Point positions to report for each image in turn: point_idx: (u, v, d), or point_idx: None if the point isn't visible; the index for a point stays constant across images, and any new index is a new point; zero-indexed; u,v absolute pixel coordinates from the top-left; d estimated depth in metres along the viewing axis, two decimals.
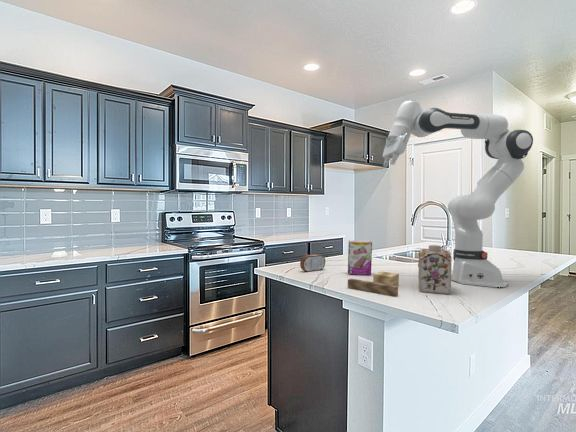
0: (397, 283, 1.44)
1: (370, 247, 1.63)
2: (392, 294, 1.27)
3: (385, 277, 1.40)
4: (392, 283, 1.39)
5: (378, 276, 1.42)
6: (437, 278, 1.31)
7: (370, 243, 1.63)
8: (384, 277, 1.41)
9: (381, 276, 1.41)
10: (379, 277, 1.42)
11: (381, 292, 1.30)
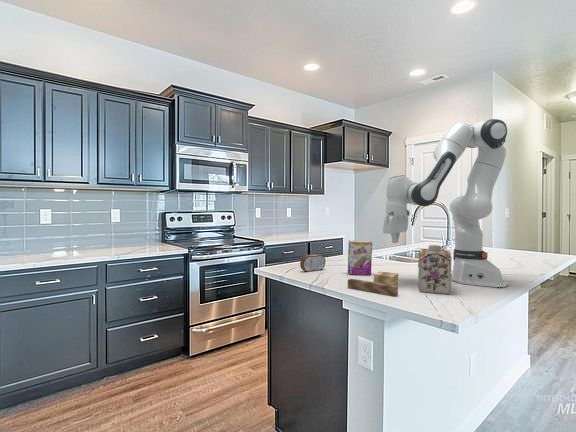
0: (397, 283, 1.44)
1: (370, 247, 1.63)
2: (392, 294, 1.27)
3: (386, 277, 1.40)
4: (393, 283, 1.39)
5: (379, 276, 1.42)
6: (437, 278, 1.31)
7: (370, 243, 1.63)
8: (385, 277, 1.40)
9: (382, 276, 1.41)
10: (380, 277, 1.42)
11: (381, 292, 1.30)
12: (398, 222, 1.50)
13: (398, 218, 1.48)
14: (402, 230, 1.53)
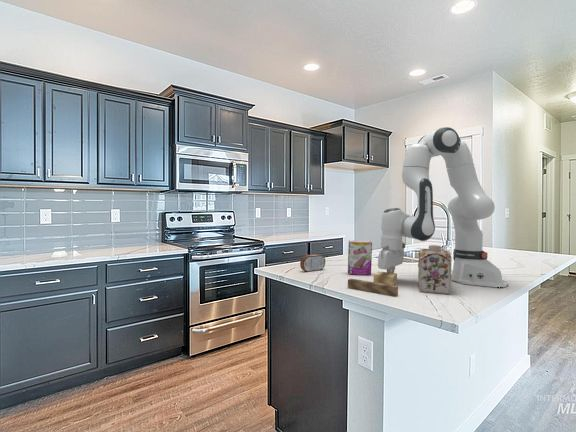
0: (396, 283, 1.44)
1: (370, 247, 1.63)
2: (392, 294, 1.27)
3: (386, 277, 1.40)
4: (393, 283, 1.39)
5: (379, 276, 1.41)
6: (437, 278, 1.31)
7: (370, 243, 1.63)
8: (385, 277, 1.40)
9: (382, 276, 1.41)
10: (380, 277, 1.41)
11: (381, 292, 1.30)
12: (393, 256, 1.47)
13: (393, 252, 1.45)
14: (397, 263, 1.50)
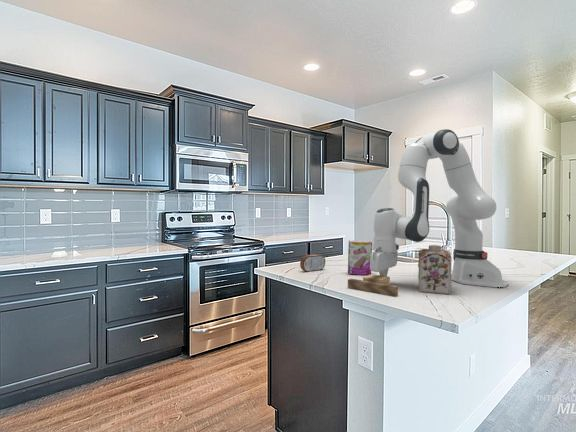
0: None
1: (370, 247, 1.63)
2: (392, 294, 1.27)
3: (375, 280, 1.35)
4: None
5: (368, 279, 1.37)
6: (437, 278, 1.31)
7: (370, 243, 1.63)
8: (374, 280, 1.35)
9: (371, 279, 1.36)
10: (369, 280, 1.36)
11: (381, 292, 1.30)
12: (386, 258, 1.41)
13: (386, 254, 1.39)
14: (391, 266, 1.44)
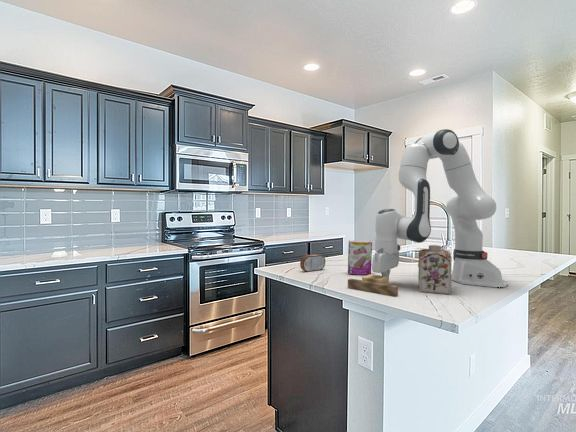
0: None
1: (370, 247, 1.63)
2: (392, 294, 1.27)
3: (374, 280, 1.34)
4: None
5: (367, 279, 1.36)
6: (437, 278, 1.31)
7: (370, 243, 1.63)
8: (373, 280, 1.34)
9: (370, 279, 1.35)
10: (368, 280, 1.36)
11: (381, 292, 1.30)
12: (388, 259, 1.41)
13: (388, 255, 1.39)
14: (392, 266, 1.44)
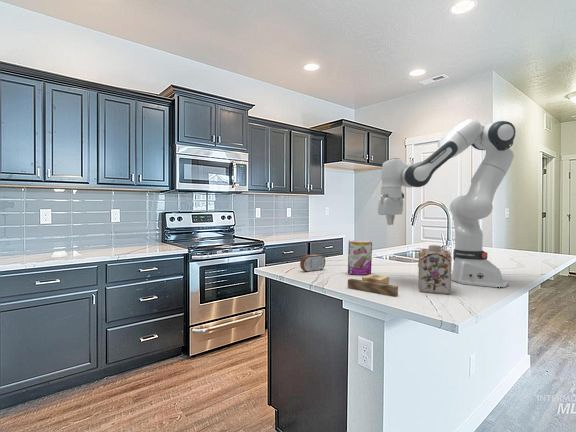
0: None
1: (370, 247, 1.63)
2: (392, 294, 1.27)
3: (374, 280, 1.34)
4: None
5: (367, 279, 1.36)
6: (437, 278, 1.31)
7: (370, 243, 1.63)
8: (373, 280, 1.34)
9: (370, 279, 1.35)
10: (368, 280, 1.36)
11: (381, 292, 1.30)
12: (393, 204, 1.52)
13: (393, 200, 1.50)
14: (397, 213, 1.55)
